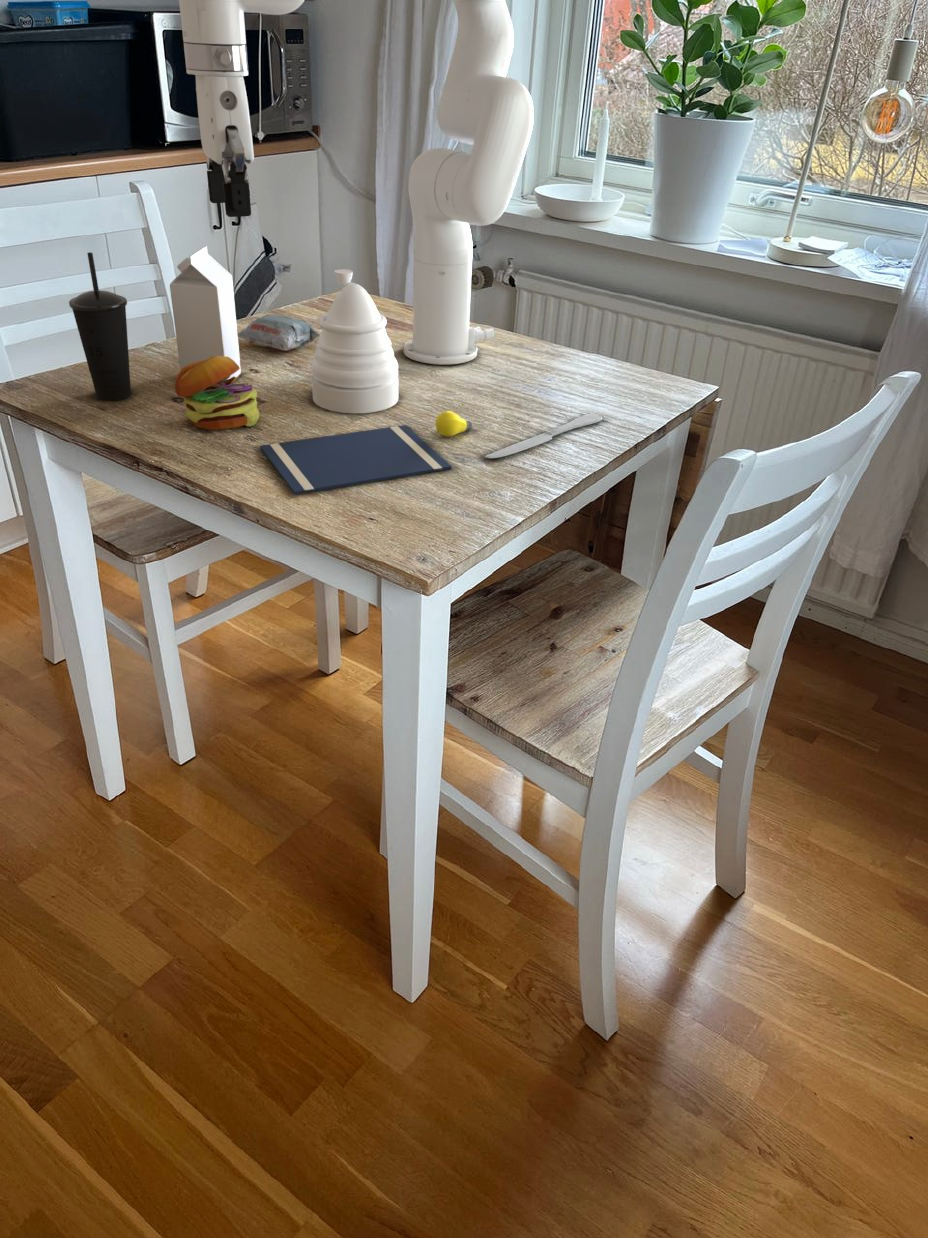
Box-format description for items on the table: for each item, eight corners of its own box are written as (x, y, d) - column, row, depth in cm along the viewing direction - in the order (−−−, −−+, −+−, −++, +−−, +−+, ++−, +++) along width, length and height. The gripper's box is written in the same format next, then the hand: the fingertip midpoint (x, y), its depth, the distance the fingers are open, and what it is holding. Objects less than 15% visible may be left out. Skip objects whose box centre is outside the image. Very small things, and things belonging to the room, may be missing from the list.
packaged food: (289, 360, 155) (287, 330, 152) (234, 346, 160) (231, 317, 157) (321, 347, 162) (320, 318, 159) (267, 335, 166) (265, 306, 164)
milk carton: (241, 373, 149) (229, 247, 139) (227, 388, 143) (214, 257, 133) (197, 370, 149) (182, 244, 139) (182, 385, 143) (165, 254, 133)
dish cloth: (406, 427, 133) (406, 424, 133) (451, 468, 122) (451, 465, 122) (260, 448, 125) (259, 445, 125) (294, 494, 114) (294, 491, 113)
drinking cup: (93, 385, 142) (68, 245, 131) (145, 386, 142) (124, 247, 132) (80, 403, 135) (52, 258, 124) (135, 404, 136) (112, 259, 125)
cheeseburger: (240, 438, 127) (216, 365, 122) (176, 444, 131) (150, 374, 126) (276, 412, 135) (255, 343, 130) (214, 418, 139) (191, 351, 134)
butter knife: (607, 417, 138) (591, 411, 140) (494, 459, 123) (478, 452, 125) (606, 419, 138) (591, 414, 140) (494, 462, 124) (478, 455, 125)
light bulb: (429, 435, 131) (431, 409, 130) (463, 439, 134) (465, 413, 134) (444, 436, 128) (446, 409, 128) (478, 439, 132) (480, 413, 131)
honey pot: (294, 396, 142) (287, 271, 132) (359, 377, 150) (356, 259, 140) (351, 420, 134) (348, 290, 125) (415, 399, 142) (417, 276, 133)
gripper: (264, 66, 112) (274, 220, 121) (230, 56, 125) (242, 196, 134) (200, 65, 109) (216, 223, 118) (172, 55, 122) (189, 198, 131)
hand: (230, 208), depth 126 cm, fingers open, 9 cm apart
